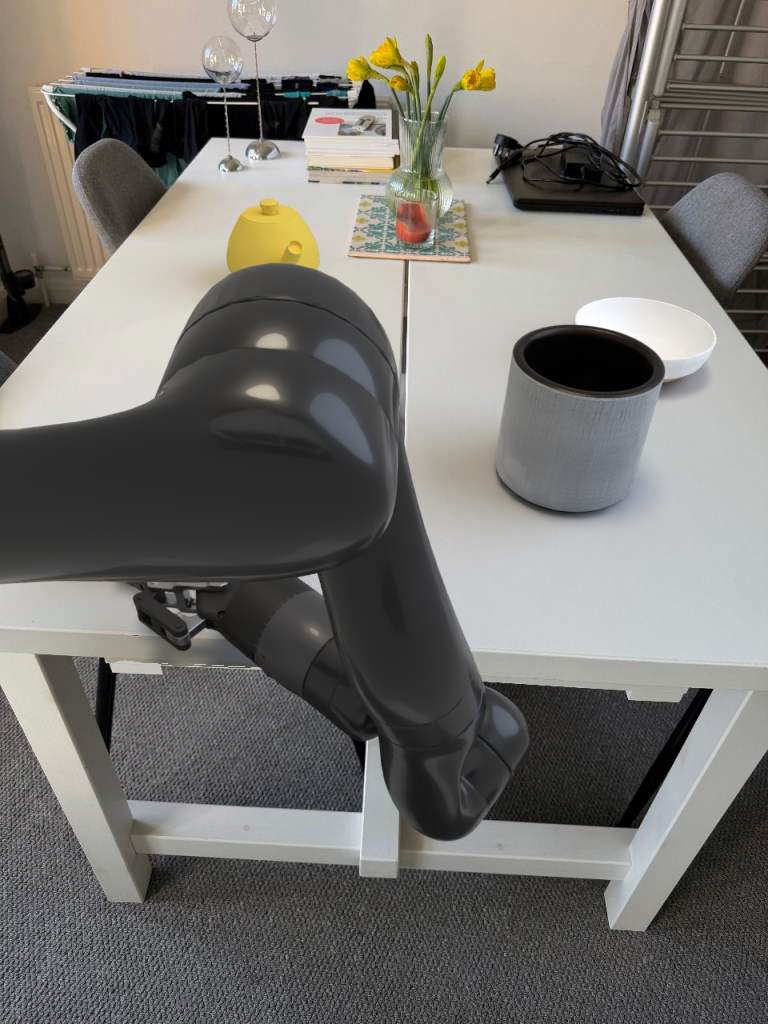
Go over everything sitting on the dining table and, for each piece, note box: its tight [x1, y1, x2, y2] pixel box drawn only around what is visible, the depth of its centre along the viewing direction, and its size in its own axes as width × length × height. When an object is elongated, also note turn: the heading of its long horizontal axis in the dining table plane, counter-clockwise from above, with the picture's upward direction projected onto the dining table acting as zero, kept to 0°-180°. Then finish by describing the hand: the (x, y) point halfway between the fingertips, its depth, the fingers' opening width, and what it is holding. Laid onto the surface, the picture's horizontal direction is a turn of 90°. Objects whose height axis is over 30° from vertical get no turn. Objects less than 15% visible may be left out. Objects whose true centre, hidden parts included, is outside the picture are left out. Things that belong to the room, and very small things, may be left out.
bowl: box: [573, 296, 717, 383], centre depth 105 cm, size 20×20×6 cm
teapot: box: [225, 198, 321, 273], centre depth 120 cm, size 20×16×14 cm
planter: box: [495, 324, 665, 513], centre depth 81 cm, size 16×16×16 cm
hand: (171, 539), depth 66 cm, fingers open, 8 cm apart
